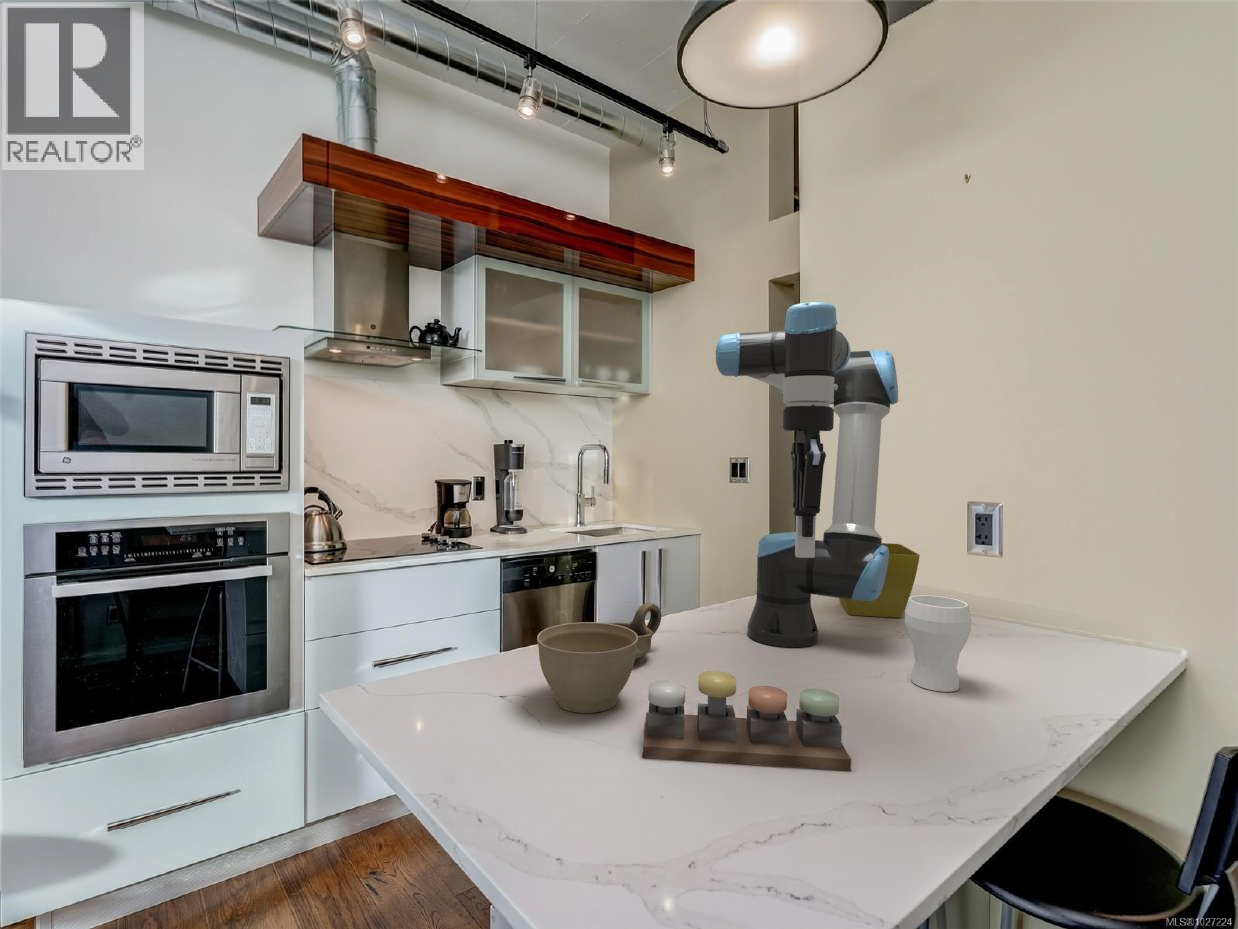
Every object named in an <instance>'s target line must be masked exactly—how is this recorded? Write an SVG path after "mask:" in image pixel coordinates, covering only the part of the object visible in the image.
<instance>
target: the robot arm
mask: <svg viewBox="0 0 1238 929" xmlns="http://www.w3.org/2000/svg"><path fill="white" fill-rule="evenodd" d="M837 325H838V320H837V309H836V306H835V305H833V304H832V303H828V302H822V301H821V302H819V301H816V302H815V301H814V302H813V301H811V302H810V301H809V302H801V303H796V304H793V305H791V306H789V308H788V309H787V310H786V314H785V323H784V328H783V330H773V331H757V332H742V333H741V332H736V333H731V334H730V333H729V334H724V335H722V336H721V337H720V338H719V339H718V340H717V343H716V347H715V362H716V367H717V370H718V372H719V374H721V375H722V376H725V377H735V378H736V377H742V376H743V377H750V378H752V379H755V380H758V381H760V382H763V383H765V384H767V385H771V386H773V387H775V388H776V390H777V391H778V392H779V393H781V394H783V396H782V397H783V398H782V399H783V400H782V401H783V403H784V404H786V406H785V407H784V408H783V410H782V412H783V416H782V428H783V430H784V431H786V432H796V435H795V442H793V443H792V445H791V446H792V447H791V451H790V455H791V456H790V457H791V463H792V464H791V466H792V467H791V468H792V470H791V472H792V474H791V475H792V508H793V509H794V511H793V514H794V516H795V531H788V532H779V533H778V532H777V533H776V532H775V533H771V534H766V535H764V536H761V538H760V539H759V540H758V548H757V555H756V558H757V560H756V561H757V566H756V567H757V568H756V569H757V570H756V571H757V572H756V601H755V603H754V607H753V609H752V611H751V615H750V617H749V620H748V622H747V633H746V634H747V636H748V638H750V639H751V640H753V641H756V642H757V643H760V644H764V645H769V646H773V647H774V646H775V647H782V648H804V647H810V646H814V645H816V644H817V643H818V642H819V630H818V629H819V628H818V626H817V623H816V619H815V615H814V613H813V609H812V602H811V601H812V595H816V596H823V597H829V598H830V597H831V598H837V599H839V598H844V599H851V600H854V601H856V600H862V601H874V600H876V599H877V598H878V597H879V595H880V593H881V591H882V588H883V585H884V581H885V577H886V572H887V567H888V557H889V549H888V547H886V546H884V545H882V546H881V544H882V543H883V542H882V540H883V537H882V536H881V535H880V534H879V533H878V531H877V530H876V527H875V526H876V512H877V496H878V494H877V493H878V482H879V480H878V479H879V467H880V466H879V464H880V450H881V434H882V433H881V432H882V420H883V419H884V418H885V417H887V416H888V414H890V412H891V411H890V410H891V405H895V404H897V403H898V402H899V386H898V385H899V384H898V377H897V376H898V375H897V370H896V363H895V358H894V356H893V353H892V352H890V351H888V350H873V349H872V350H871V349H869V350H858V351H857V350H856V351H851V345H850V343H849V340H848V339H847V337H846V336H845V335H844V333H843V332H841V331H839V330H837ZM830 405H833V406H830ZM835 414H836V415H837V417H839V424H838V438H837V452H836V463H835V464H836V467H835V477H834V491H833V493H834V494H833V502H832V503H833V506H832V519H831V524H830V526H829V527H828V528H827V529H825V530H824V531H823V537H822V540H819V539H817V540H816V521H817V520H816V519H817V518H816V517H817V514H820V511H821V501H822V499H821V498H822V487H823V474H824V467H825V461H826V457H827V454H826V451H824V443H821V434H820V433H821V432H831V431H833V429H834V422H835V421H834V418H835V416H834V415H835Z"/></svg>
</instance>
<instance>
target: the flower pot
mask: <svg viewBox="0 0 1238 929" xmlns="http://www.w3.org/2000/svg"><path fill="white" fill-rule="evenodd" d="M882 545H884V546H886V547H888V549H889V557H888V567H887V572H886V577H885V581H884V585H883V588H882V591H881V593H880V595H879V597H878V598H877V599H876V600H874V601H862V600H856V601H854V600H851V599H844V598H838V599H839V601H840V602H839V603H840V605H841V606H842V608H843V609H844V610H845V612H846V613H847V614H848V615H850V616H861V617H879V618H894V619H895V618H901V617H902V615H903V613H905V610H906V606H907V603H908V599H909V598H910V597H911V595H912V594H911V593H912V591H913V587H914V583H915V580H916V575H917V572H918V567H919V563H920V562H919V561H920V554H919V553H917V552H916V551H913V550H912V549H910V548H908V547H906V546H905V545H903V544H900V543H889V542H888V543H887V542H885V543H884V542H882V544H881V546H882Z"/></svg>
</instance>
